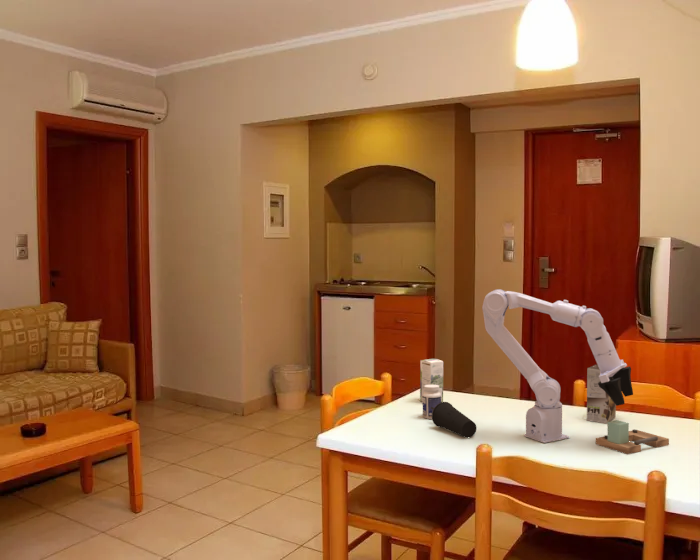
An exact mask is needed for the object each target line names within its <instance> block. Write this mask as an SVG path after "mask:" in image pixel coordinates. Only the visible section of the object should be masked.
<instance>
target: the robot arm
mask: <svg viewBox="0 0 700 560" xmlns="http://www.w3.org/2000/svg"><path fill="white" fill-rule="evenodd" d="M481 308H482V314H483V319H484V328H485V331H486V333H487V334H488V335H489V336H490V338H491V339H492V340H493V341H494V342H495V344H496V345H497V346H498V347H499V348H500V350H501V351H502V352H503V353H504V354H505V355H506V356H507V358H508V359H509V361H511V363H512V364H513V365H514V366H515V367H516V369H517V370H518V371H519V372H520V374H521V375H522V376H523V377H524V379H526V381H527V383H528V384H529V387H530V388H531V390H532V392H533V393H534V394H535V395H534V396H535V399H536V400H535V401H534V405H533V406H532V407H530V408H528V410H527V411H526V414H525V433H524V434H523V437H526V438H528V439H531V440H535V441H537V442H540V443H544V444H546V443H551V442H556V441H560V440H561V441H562V440H566V439H569V438H570V436H569V435H567V434H563V403H562V402H561V401H560V400H561V392H562V391H561V385H560V383H559V382H558V381H557V380H556V379H554V378H552V377H550V376H549V375H548V373H546V372H545V371H544V370H543V369H541V368H540V366H538V364H537V363H536V362H535V361H534V360H533V358H532V357H531V356H530V354H529V353H528V352H527V351H526V350H525V349H524V347H523V346H522V345H521V344H520V342H518V340H517V339H516V338H515V337H514V336H513V334H512V333H511V332H510V330H508V328H507V327H506V326H505V325H504V324H505V318H506V312H507V310H513V309H517V308H523V309H527V310H532V311H535V312H538V313H539V312H540V313H543V314H547V315H549V316H550V318H551V320H552V321H555V322H557V323H560V324H565V325H568V326H571V327H574V328H578V327H580V328H581V329H582V330H583V331H584V333H585V336H586V338H587V343H588V346H589V348H590V350H591V352H592V355H593V357H594V359H595V362H596V365H598V367H599V369H600V376H599V378H600V382H599V383H598V385H599V387H600V388H602V389H603V390H604V391H605V392H606V393H607V394H608V395H609V396H610V398H611V399H612V400H613V402H614V403H615V404H616V407H618V406H622V405H625V397H629V396H633V395H634V391H633V386H632V378H631V375H632V374H631V373H632V368H631V366H629V365H628V364H627V363H626V362H624V358H623V359H620V357H619V354H618V352H617V350H616V348H615V345H614V342H613V341H612V339H611V336H610V333H609V332H608V331H607V328H606V326H605V325H604V318H603V317H602V315H601V313H600V312H599V311H598V310H596V309H594V308H590V307H589V308H587V306H586V305H582V306H580V305H577V304H573V303H569V300H567V299H563V301H562V300H556V301H555V302H553V303H552V302H549V301H546V300H543V299H540V298H536V297H534V296H530V295H527V294H525V293H521V292H516V291H513V290H503V289H500V288H497V289H494V290H492V291H490V292H488V293H487V294H486V295H485V297H484V299H483V302H482V307H481Z"/></svg>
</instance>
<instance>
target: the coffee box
mask: <svg viewBox="0 0 700 560" xmlns="http://www.w3.org/2000/svg"><path fill="white" fill-rule="evenodd" d="M586 372H587V373H586V374H587V375H586V421H590V422H595V423H596V422H597V423H602V424H608V422H609V421H613V420H614V419H615V418H616V417H617V416H616V413H617V412H616V411H617V410H616V409H617V408H616V407H617V406H616V404H615V403H614V402H613V400H612V399H611V398H610V396H609V395H608V394H607V393H606V392H605V391H604V390H603V389H602V388H600V387H599V385H598V383H599V382H600V378H599V376H600V369H599V367H598V364H594V365H592V366H590V367H587V371H586ZM613 418H614V419H613ZM612 419H613V420H612Z"/></svg>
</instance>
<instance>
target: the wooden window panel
mask: <svg viewBox="0 0 700 560" xmlns="http://www.w3.org/2000/svg"><path fill="white" fill-rule="evenodd" d="M607 439H608V434H605V435H604V436H599V437H595V445H597V446H601V447H603V446H604V448H607V449H610V450H613V451H616V450H617V452H619V451H620V453H622V452H623V454H626V455H630V454H635V453H639V452H642V445H643V444H644V445H647V446H649V445H650V447H653V448H660V447H665V446H669V445H670V438H668V437H664V436H661V435H657V434H653V433H649V432H646V431H642V430H638V429H631V430H629V441H630V442H627V443H623V444H617V443H613V442H610V441H607Z"/></svg>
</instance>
